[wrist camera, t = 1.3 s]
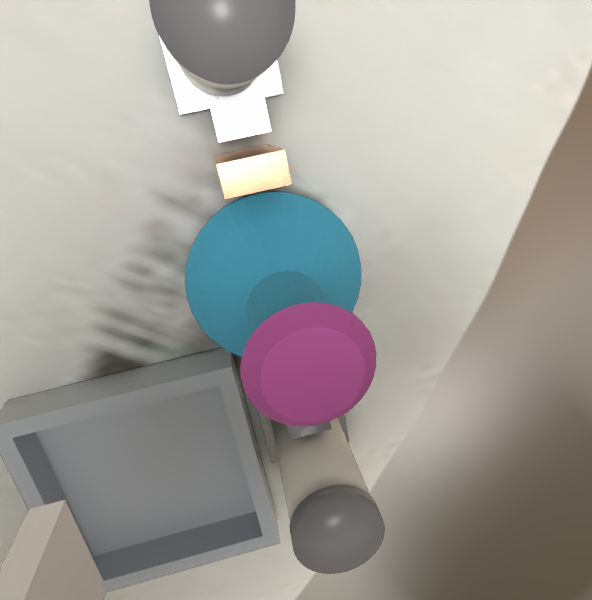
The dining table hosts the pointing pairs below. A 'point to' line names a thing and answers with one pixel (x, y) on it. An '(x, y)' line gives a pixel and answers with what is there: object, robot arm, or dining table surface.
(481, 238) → the dining table surface
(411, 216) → the dining table surface
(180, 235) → the dining table surface
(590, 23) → the dining table surface
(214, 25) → the canister
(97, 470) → the tray
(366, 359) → the perfume bottle
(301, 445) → the canister
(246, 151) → the clip rack
